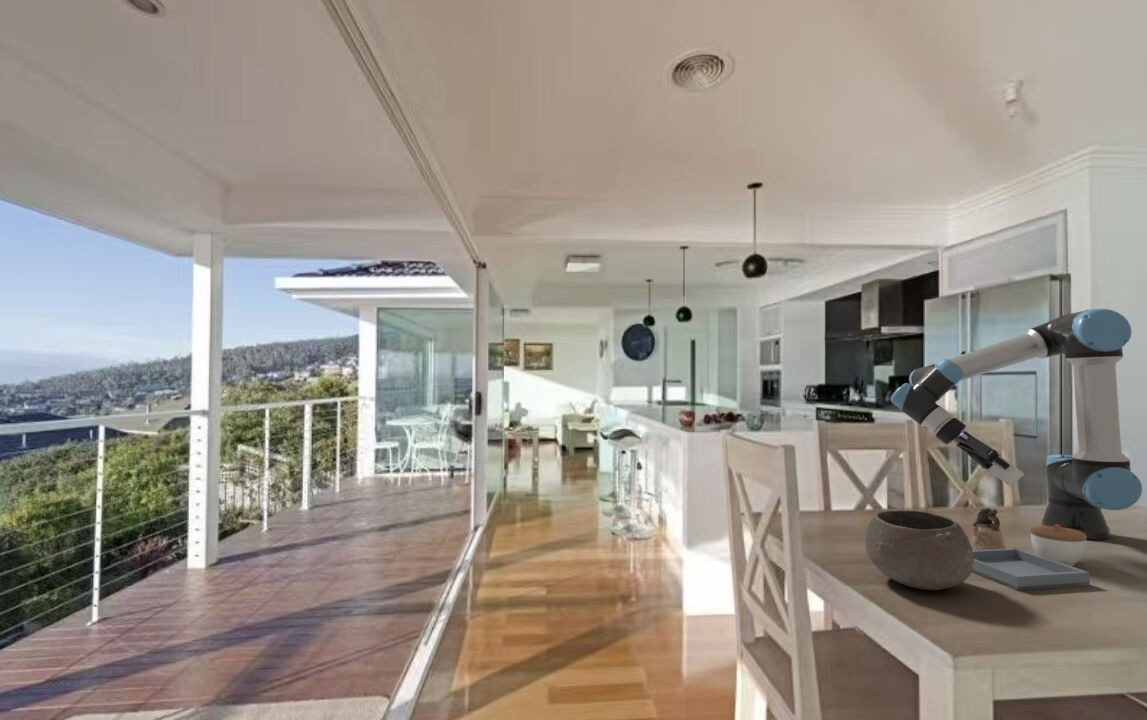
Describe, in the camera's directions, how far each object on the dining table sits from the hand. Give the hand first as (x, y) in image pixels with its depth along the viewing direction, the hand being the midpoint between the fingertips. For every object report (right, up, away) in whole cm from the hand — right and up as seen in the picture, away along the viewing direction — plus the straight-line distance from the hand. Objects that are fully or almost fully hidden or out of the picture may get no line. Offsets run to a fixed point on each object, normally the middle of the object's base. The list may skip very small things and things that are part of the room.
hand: (1017, 480), depth 149 cm
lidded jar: (+3, -19, -9) cm, 21 cm away
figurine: (-9, -19, -1) cm, 21 cm away
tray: (-14, -18, -17) cm, 29 cm away
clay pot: (-40, -19, -22) cm, 50 cm away
